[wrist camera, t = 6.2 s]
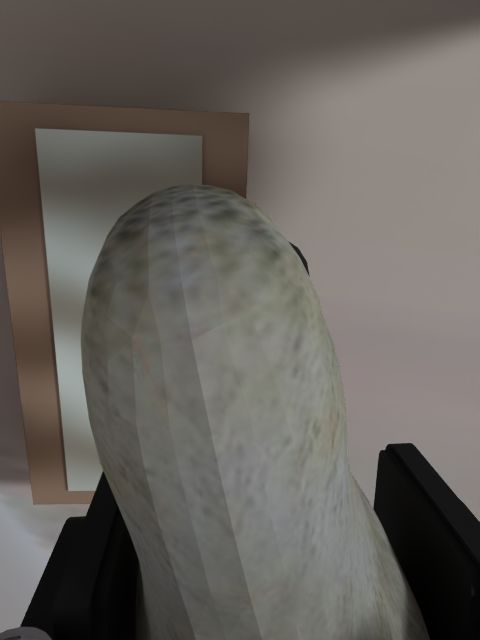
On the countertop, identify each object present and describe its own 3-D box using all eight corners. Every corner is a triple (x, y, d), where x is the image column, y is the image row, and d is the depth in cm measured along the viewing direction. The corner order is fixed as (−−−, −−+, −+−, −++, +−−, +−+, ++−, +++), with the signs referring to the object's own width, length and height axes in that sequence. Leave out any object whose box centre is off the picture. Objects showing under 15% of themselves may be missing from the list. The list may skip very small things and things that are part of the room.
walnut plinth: (24, 116, 22) (-18, 99, 18) (242, 126, 23) (249, 112, 19) (58, 460, 27) (31, 507, 23) (231, 459, 28) (234, 504, 24)
